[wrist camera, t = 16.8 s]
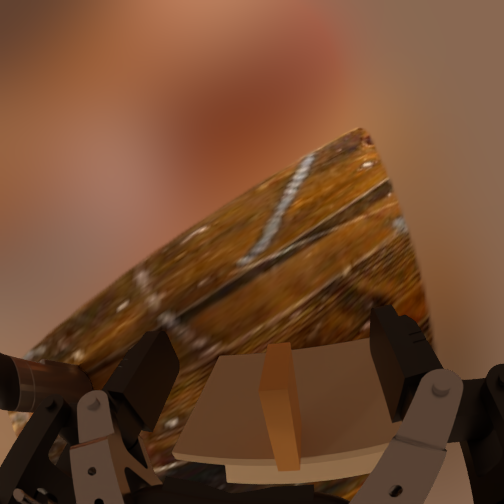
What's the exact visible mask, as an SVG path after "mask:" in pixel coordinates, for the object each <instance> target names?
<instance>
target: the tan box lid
mask: <svg viewBox="0 0 504 504" xmlns="http://www.w3.org/2000/svg"><path fill="white" fill-rule="evenodd" d="M369 340H370V338H365V339H360V340H355V341H349V342H343V343H337V344H331V345H325V346H318V347H311V348H304V349H296V350H291V344H290V342H284V343H275V344H268V346H267V351H266V353H257V354H244V355H228V356H219V358H218V360H217V362H216V364H215V366H214V369H213V371H212V373H211V375H210V377H209V379H208V381H207V383H206V385H205V387H204V389H203V391H202V393H201V395H200V397H199V399H198V401H197V403H196V405H195V407H194V409H193V411H192V413H191V415H190V417H189V419H188V421H187V423H186V425H185V427H184V429H183V431H182V433H181V435H180V437H179V439H178V441H177V443H176V445H175V447H174V449H173V451H172V453H173V455H174V457H175V458H176V459H179V460H185V461H193V462H201V463H210V464H222V465H240V466H277V468H278V471H298V470H300V464H311V463H320V462H328V461H335V460H342V459H348V458H354V457H359V456H364V455H369V454H373V453H378V452H382V451H385V450H386V448H387V446H388V445H389V443H390V441H391V440H392V438H393V437H394V436H395V435H396V433H397V431H398V429H399V427H400V425H401V424H402V421H399V422H395V423H392V421H391V418H390V414H389V411H388V407H387V404H386V400H385V397H384V394H383V390H382V387H381V384H380V381H379V377H378V374H377V371H376V368H375V365H374V362H373V359H372V356H371V352H370V343H369Z"/></svg>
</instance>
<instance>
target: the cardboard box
mask: <svg viewBox="0 0 504 504" xmlns="http://www.w3.org/2000/svg"><path fill="white" fill-rule="evenodd" d="M382 455H383V451H382V452H378V453H373V454H369V455H364V456H359V457H354V458H348V459H342V460H335V461H328V462H320V463H311V464H300V470H298V471H278V468H277V466H240V465H225V467H226V476H227V482H229V483H245V484H288V483H304V482H316V481H325V480H333V479H340V478H346V477H352V476H357V475H362V474H367V473H371V472H372V471H373V469H374V468H375V466H376V464H377V463H378V461H379V460H380V458H381V456H382Z"/></svg>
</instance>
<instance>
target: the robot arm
mask: <svg viewBox="0 0 504 504" xmlns="http://www.w3.org/2000/svg"><path fill="white" fill-rule="evenodd" d="M369 343H370V352H371V356H372V359H373V362H374V365H375V368H376V371H377V374H378V377H379V381H380V384H381V387H382V390H383V394H384V397H385V400H386V404H387V407H388V411H389V414H390V418H391V421H392V423H395V422H399V421H402V424H401V425H400V427H399V429H398V431H397V433H396V435H395V436H394V437H393V438H392V440H391V441H390V443H389V445H388V446H387V448H386V450H385V451H384V453H383V455H382V456H381V458H380V460H379V461H378V463H377V464H376V466H375V468H374V469H373V471H372V472H371V474H370V475H369V477H368V478H367V480H366V481H365V483H364V484H363V485H362V487H361V488H360V490H359V491H358V492H357V494H356V495H355V496H354V498H353V499H352V500H351V502H350V501H348V500H346V499H343V498H341V497H338V496H335V495H332V494H327V493H322V492H314V485H302V486H283V487H270V488H265V489H260V490H255V491H249V492H243V493H235V494H234V493H228V492H225V491H222V490H219V489H216V488H213V487H210V486H208V485H205V484H202V483H199V482H195V481H189V480H183V479H177V478H172V477H167V476H166V478H165V481H164V484H162V482H161V481H160V480H159V479H158V477H157V476H156V474H155V472H154V470H153V468H152V465H151V462H150V460H149V457H148V454H147V452H146V449H145V446H144V443H143V440H142V438H141V437H140V435H139V434H140V432H141V430H143V431H148V432H153V430H154V428H155V425H156V423H157V421H158V418H159V416H160V414H161V412H162V409H163V407H164V405H165V402H166V400H167V398H168V395H169V393H170V391H171V389H172V386H173V384H174V382H175V380H176V377H177V375H178V373H179V360H178V357H177V355H176V353H175V351H174V349H173V347H172V345H171V342H170V340H169V338H168V336H167V334H166V333H165V332H164V331H147V332H146V333H145V334H144V335H143V337H142V338H141V340H140V341H139V342H138V343H137V344H136V345H135V346H133V347H132V348H131V349H130V350H128V352H127V353H126V355H125V356H124V358H123V360H122V361H121V362H120V364H119V365H118V367H117V368H116V369H115V371H114V372H113V374H112V375H111V377H110V378H109V380H108V381H107V383H106V384H105V386H104V387H103V389H102V390H94V391H93V389H92V385H91V382H90V380H89V378H88V377H87V375H86V374H85V373H84V372H83V371H81V370H80V368H79V366H78V365H73V364H67V363H62V362H56V361H51V360H46V359H42V360H41V361H40V362H34V361H29V360H25V359H20V358H16V357H12V356H8V355H4V354H2V353H0V409H2V410H8V411H18V412H32V413H33V415H32V416H31V418H30V419H29V421H28V422H27V424H26V425H25V427H24V428H23V430H22V432H21V433H20V435H19V436H18V438H17V440H16V441H15V443H14V444H13V446H12V448H11V450H10V451H9V453H8V455H7V456H6V458H5V460H4V462H3V463H2V465H1V467H0V504H75V503H76V502H77V504H423V503H424V501H425V499H426V497H427V495H428V493H429V491H430V490H431V488H432V486H433V484H434V481H435V479H436V477H437V475H438V473H439V471H440V468H441V466H442V464H443V461H444V459H445V456H446V452H447V450H445V447H446V444H447V443H451V442H460V445H461V448H462V452H463V456H464V459H465V463H466V467H467V471H468V476H469V480H470V485H471V490H472V495H473V501H474V504H504V364H499V365H496V366H494V367H493V368H491V369H490V370H489V372H488V374H487V376H486V378H482V379H472V380H461V378H460V377H459V376H458V375H457V374H456V373H455V372H453V371H451V370H446V369H444V368H443V367H442V365H441V363H440V361H439V360H438V358H437V356H436V354H435V353H434V351H433V349H432V348H431V346H430V344H429V342H428V341H427V340H426V338H425V336H424V334H423V333H422V332H421V329H420V328H419V326H418V325H417V323H416V322H415V321H414V320H413V319H411V318H410V317H408V316H407V315H403V316H398V315H397V313H396V311H395V309H394V308H393V306H392V305H391V304H390V305H385V306H380V307H375V308H372V309H371V316H370V340H369ZM58 434H59V435H60V437H61V438H62V439H63V440H65V441H66V442H67V445H66V446H65V448H64V450H63V452H62V454H61V456H60V458H59V460H58V462H57V464H56V466H55V465H54V464H53V463H52V462H51V461H50V460H49V457H48V453H49V450H50V448H51V446H52V445H53V443H54V441H55V439H56V437H57V436H58Z"/></svg>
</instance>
